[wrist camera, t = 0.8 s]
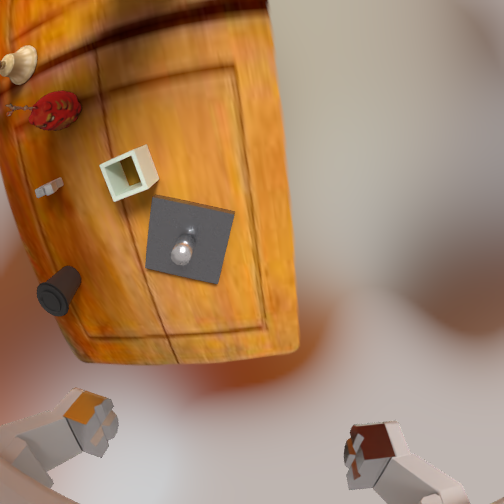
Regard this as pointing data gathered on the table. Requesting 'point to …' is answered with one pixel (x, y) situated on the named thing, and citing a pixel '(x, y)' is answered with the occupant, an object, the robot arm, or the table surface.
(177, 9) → the table surface
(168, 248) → the plate
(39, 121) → the red clay folk toy
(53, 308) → the coffee cup
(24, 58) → the hand bell
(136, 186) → the sleeve
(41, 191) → the lighter
